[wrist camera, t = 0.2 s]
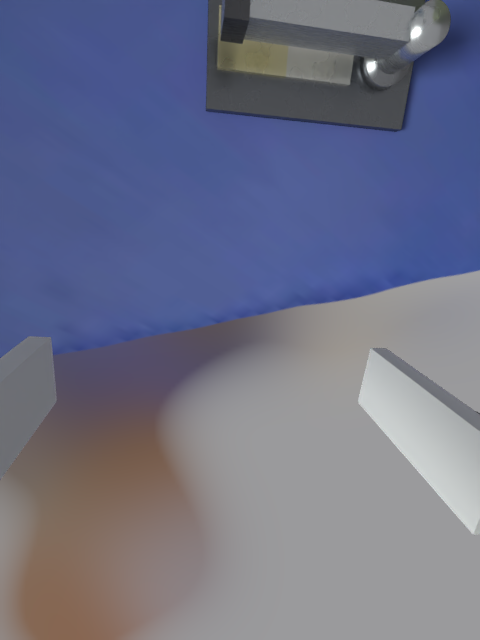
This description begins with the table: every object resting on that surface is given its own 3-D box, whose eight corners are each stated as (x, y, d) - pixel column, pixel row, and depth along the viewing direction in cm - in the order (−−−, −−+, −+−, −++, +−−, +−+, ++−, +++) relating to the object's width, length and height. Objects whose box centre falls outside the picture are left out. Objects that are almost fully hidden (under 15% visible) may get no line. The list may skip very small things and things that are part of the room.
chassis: (209, -34, 31) (210, -52, 29) (419, 2, 34) (434, -11, 32) (205, 111, 34) (206, 104, 32) (395, 131, 38) (407, 127, 36)
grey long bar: (409, 38, 33) (454, 2, 27) (402, 76, 34) (445, 48, 28) (220, 9, 30) (226, -39, 24) (218, 51, 31) (224, 14, 25)
